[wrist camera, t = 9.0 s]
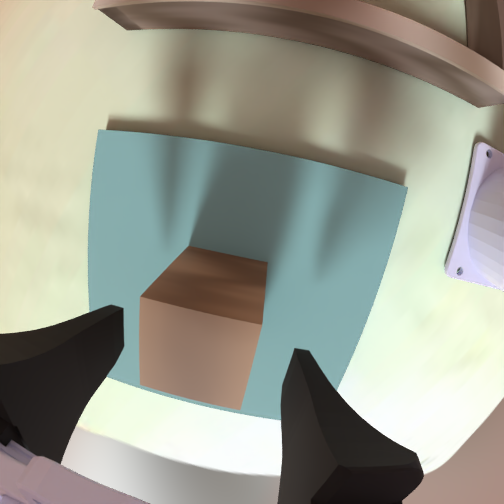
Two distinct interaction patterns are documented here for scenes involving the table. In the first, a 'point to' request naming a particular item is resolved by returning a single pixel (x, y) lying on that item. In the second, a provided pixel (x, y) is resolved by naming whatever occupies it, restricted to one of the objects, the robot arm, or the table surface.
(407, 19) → the frame
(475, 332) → the table surface
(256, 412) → the mat
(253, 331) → the walnut block
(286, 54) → the table surface
